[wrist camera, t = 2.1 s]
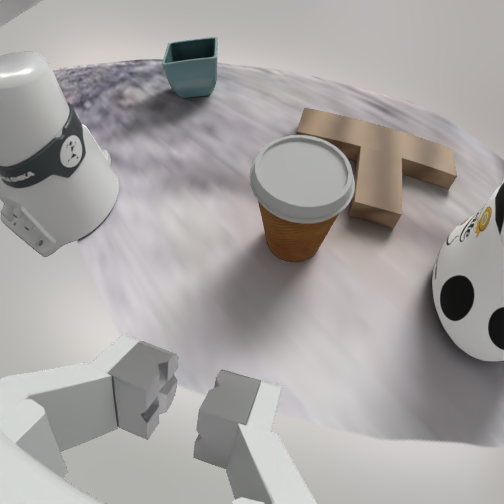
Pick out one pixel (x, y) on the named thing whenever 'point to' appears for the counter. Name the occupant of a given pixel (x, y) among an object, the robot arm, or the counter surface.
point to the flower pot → (192, 66)
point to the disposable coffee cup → (300, 193)
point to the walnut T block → (380, 162)
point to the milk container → (474, 282)
